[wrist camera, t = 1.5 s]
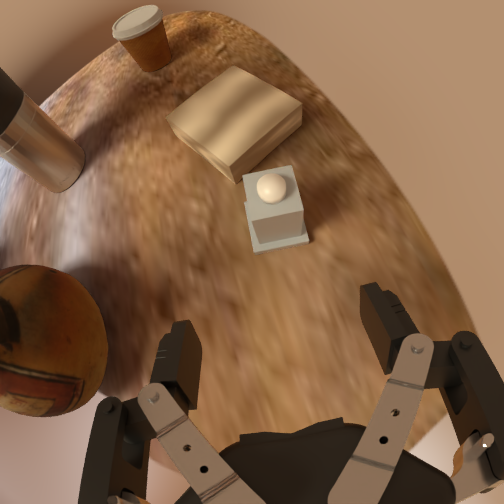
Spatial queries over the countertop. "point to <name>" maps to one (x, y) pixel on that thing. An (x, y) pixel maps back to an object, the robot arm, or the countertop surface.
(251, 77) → the birch block
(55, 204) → the countertop surface
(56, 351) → the ceramic pitcher
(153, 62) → the disposable coffee cup
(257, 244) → the grey box with knob
